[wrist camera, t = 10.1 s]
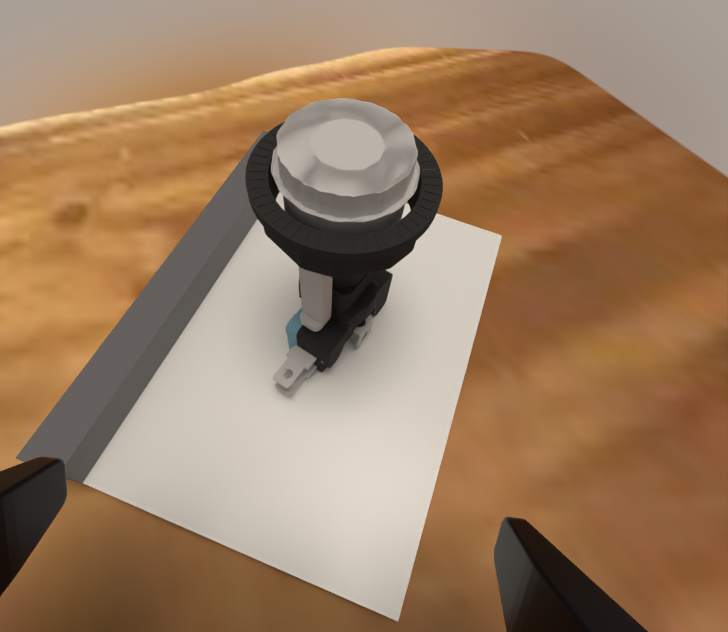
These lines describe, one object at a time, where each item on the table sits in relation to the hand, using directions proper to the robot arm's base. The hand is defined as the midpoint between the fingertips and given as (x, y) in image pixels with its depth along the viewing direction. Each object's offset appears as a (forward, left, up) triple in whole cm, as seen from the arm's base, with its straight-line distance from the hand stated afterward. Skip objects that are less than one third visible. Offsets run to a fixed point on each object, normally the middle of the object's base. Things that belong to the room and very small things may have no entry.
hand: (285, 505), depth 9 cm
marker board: (+7, +3, -9) cm, 12 cm away
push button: (+7, +2, -8) cm, 11 cm away
